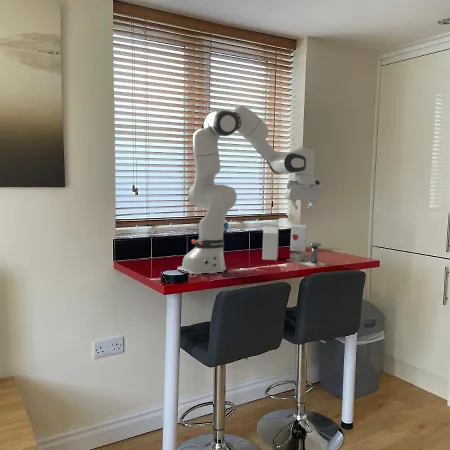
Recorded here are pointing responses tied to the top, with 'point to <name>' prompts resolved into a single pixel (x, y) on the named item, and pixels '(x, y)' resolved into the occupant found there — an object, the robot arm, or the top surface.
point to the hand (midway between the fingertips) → (302, 209)
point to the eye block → (303, 259)
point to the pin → (314, 252)
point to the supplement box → (298, 238)
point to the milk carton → (270, 242)
